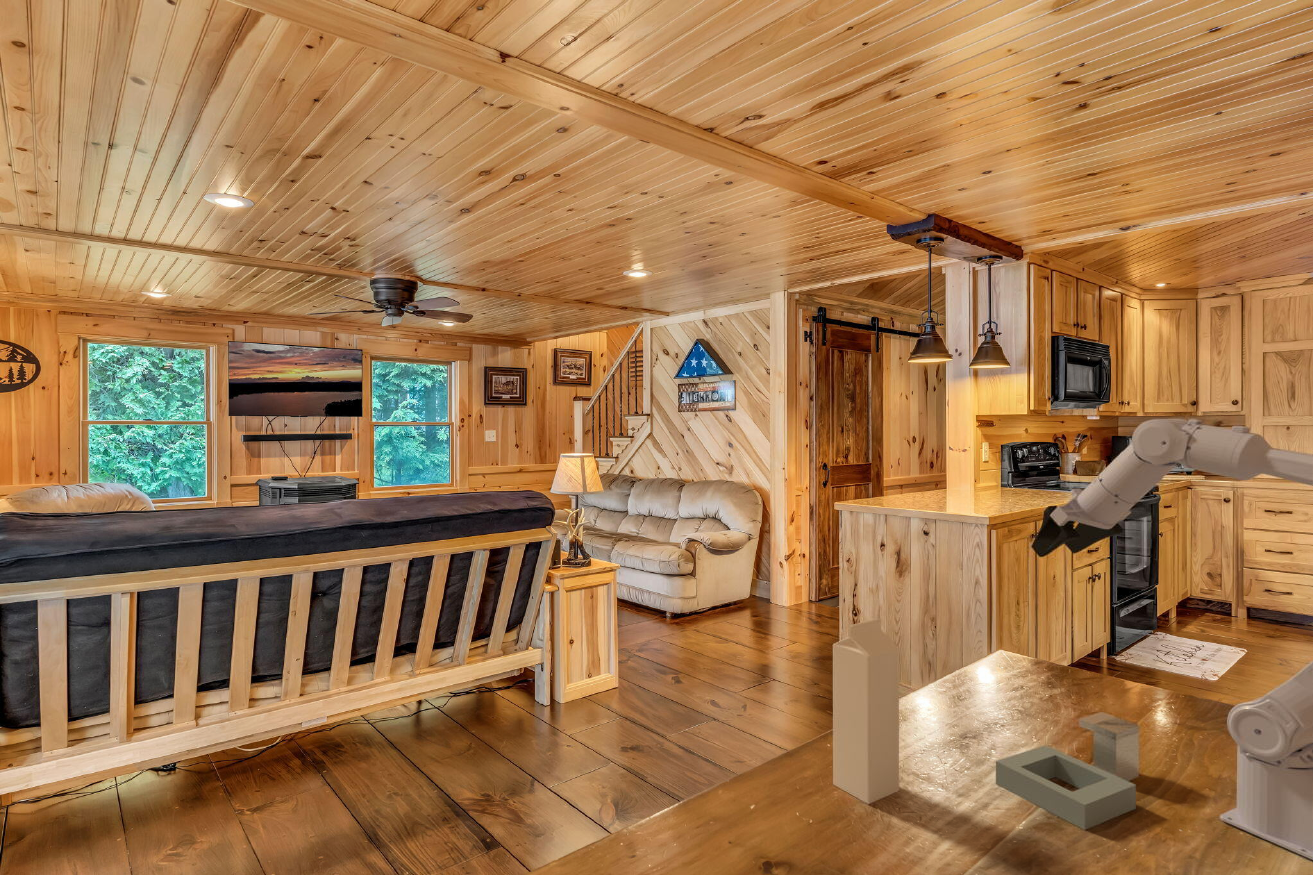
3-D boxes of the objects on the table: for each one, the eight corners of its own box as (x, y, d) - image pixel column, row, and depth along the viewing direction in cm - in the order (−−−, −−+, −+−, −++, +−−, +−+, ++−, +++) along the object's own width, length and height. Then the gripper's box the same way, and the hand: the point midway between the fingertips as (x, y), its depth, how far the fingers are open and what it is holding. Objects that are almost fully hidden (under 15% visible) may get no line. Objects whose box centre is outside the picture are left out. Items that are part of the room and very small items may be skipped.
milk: (899, 791, 93) (900, 623, 92) (867, 805, 90) (869, 631, 89) (862, 772, 98) (863, 612, 97) (831, 784, 95) (832, 619, 94)
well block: (1135, 808, 88) (1135, 784, 88) (1084, 829, 84) (1084, 804, 84) (1045, 766, 99) (1045, 744, 99) (995, 783, 94) (995, 761, 94)
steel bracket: (1138, 776, 96) (1139, 725, 96) (1115, 785, 94) (1116, 732, 94) (1101, 760, 100) (1101, 711, 100) (1078, 768, 98) (1079, 718, 98)
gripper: (1127, 466, 104) (1065, 526, 113) (1064, 468, 98) (1003, 531, 106) (1165, 502, 100) (1098, 562, 108) (1101, 507, 93) (1035, 570, 102)
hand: (1053, 549), depth 107 cm, fingers open, 7 cm apart
